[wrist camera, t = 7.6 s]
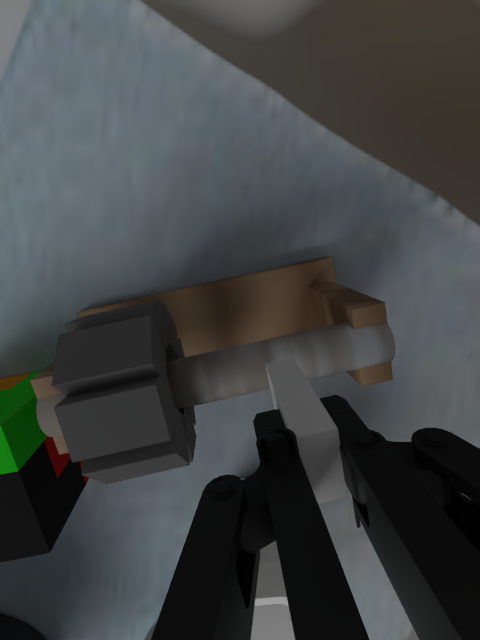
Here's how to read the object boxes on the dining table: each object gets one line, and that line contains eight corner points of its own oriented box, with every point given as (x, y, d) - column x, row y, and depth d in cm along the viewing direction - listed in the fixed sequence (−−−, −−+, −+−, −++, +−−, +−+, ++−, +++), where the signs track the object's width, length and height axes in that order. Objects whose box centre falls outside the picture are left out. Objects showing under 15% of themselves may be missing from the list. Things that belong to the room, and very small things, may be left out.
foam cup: (213, 458, 34) (211, 589, 21) (301, 470, 35) (350, 602, 22) (196, 535, 36) (185, 696, 23) (279, 544, 37) (313, 703, 24)
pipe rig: (113, 401, 31) (57, 491, 20) (82, 309, 29) (0, 354, 18) (341, 350, 32) (409, 411, 21) (328, 256, 30) (396, 267, 18)
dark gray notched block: (138, 427, 27) (92, 522, 17) (104, 308, 25) (30, 338, 15) (199, 414, 27) (187, 500, 17) (169, 294, 25) (136, 315, 16)
